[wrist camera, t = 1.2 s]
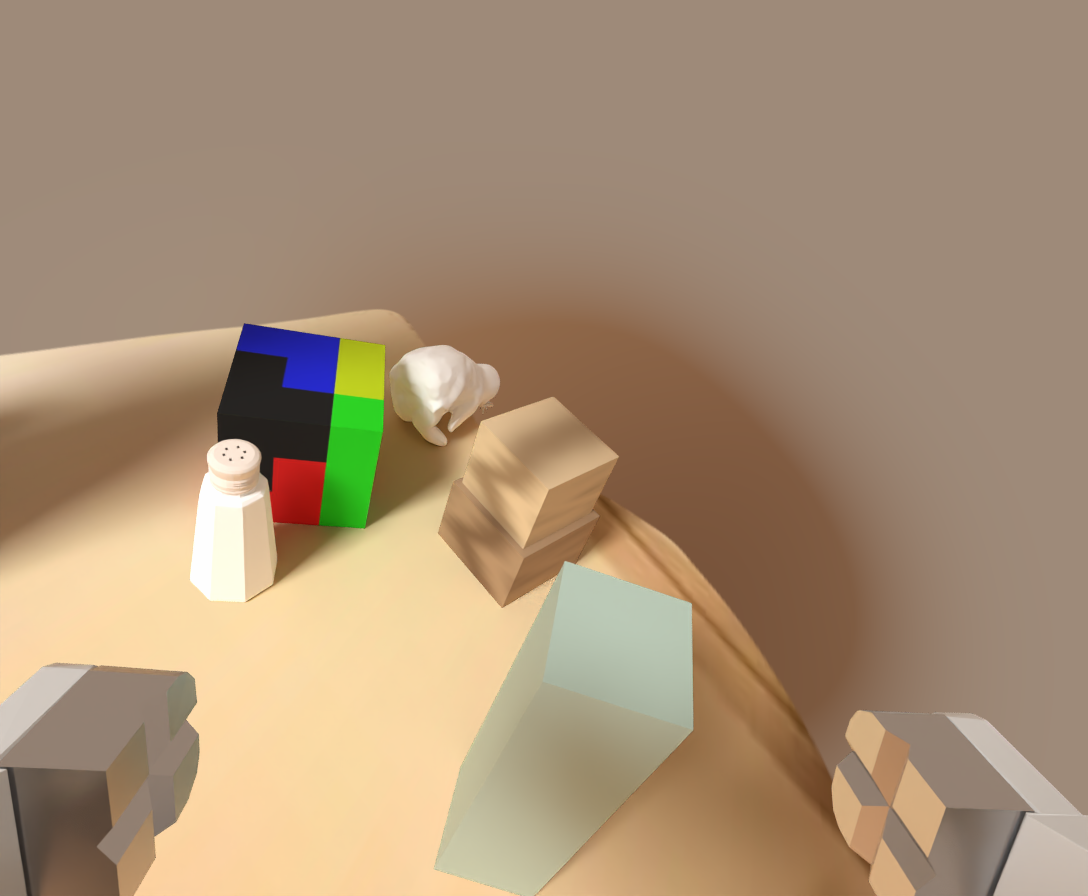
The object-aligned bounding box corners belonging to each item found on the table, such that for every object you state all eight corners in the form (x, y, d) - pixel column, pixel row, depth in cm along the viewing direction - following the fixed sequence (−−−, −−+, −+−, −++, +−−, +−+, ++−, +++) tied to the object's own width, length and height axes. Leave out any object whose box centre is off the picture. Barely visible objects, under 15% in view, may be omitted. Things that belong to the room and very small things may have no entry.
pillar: (433, 869, 35) (542, 681, 22) (460, 766, 39) (565, 560, 27) (531, 898, 35) (693, 729, 23) (548, 794, 40) (691, 603, 27)
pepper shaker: (198, 615, 41) (190, 497, 34) (181, 549, 44) (170, 428, 37) (288, 591, 44) (297, 478, 37) (266, 531, 47) (271, 415, 40)
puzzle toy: (243, 425, 54) (244, 323, 48) (368, 439, 57) (385, 345, 51) (220, 519, 47) (217, 413, 41) (364, 528, 50) (382, 431, 44)
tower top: (461, 482, 48) (480, 421, 45) (530, 454, 53) (553, 396, 49) (523, 549, 45) (548, 489, 42) (590, 513, 50) (619, 456, 46)
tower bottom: (437, 534, 52) (453, 481, 48) (512, 499, 57) (531, 449, 53) (501, 608, 49) (523, 558, 45) (574, 564, 54) (600, 516, 50)
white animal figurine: (391, 337, 54) (486, 315, 63) (370, 418, 59) (461, 387, 68) (444, 380, 52) (534, 351, 61) (418, 461, 57) (505, 423, 66)
